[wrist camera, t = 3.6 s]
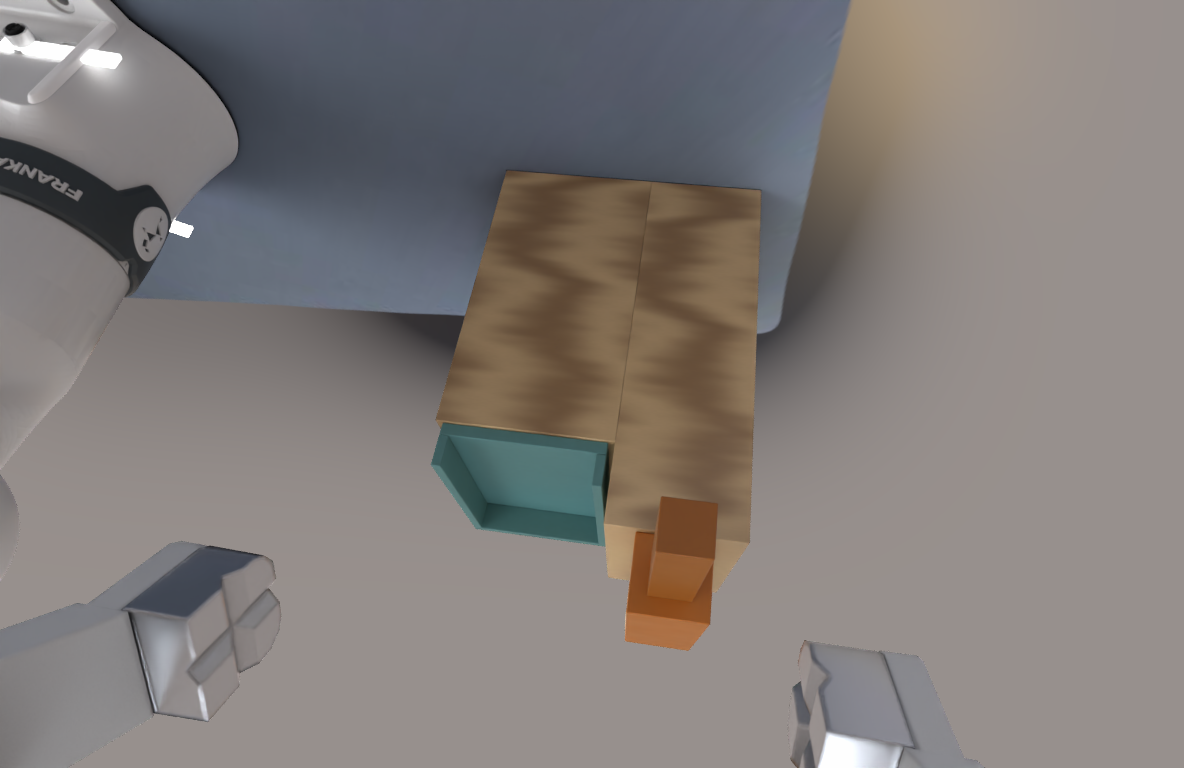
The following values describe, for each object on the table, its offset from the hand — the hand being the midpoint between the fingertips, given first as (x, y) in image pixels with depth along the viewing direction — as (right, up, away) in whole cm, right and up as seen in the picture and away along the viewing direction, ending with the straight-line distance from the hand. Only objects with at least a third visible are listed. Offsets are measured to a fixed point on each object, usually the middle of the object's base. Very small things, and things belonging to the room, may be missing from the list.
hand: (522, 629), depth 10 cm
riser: (+4, +16, +45) cm, 47 cm away
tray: (-3, -2, +35) cm, 36 cm away
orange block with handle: (+6, -5, +27) cm, 29 cm away
